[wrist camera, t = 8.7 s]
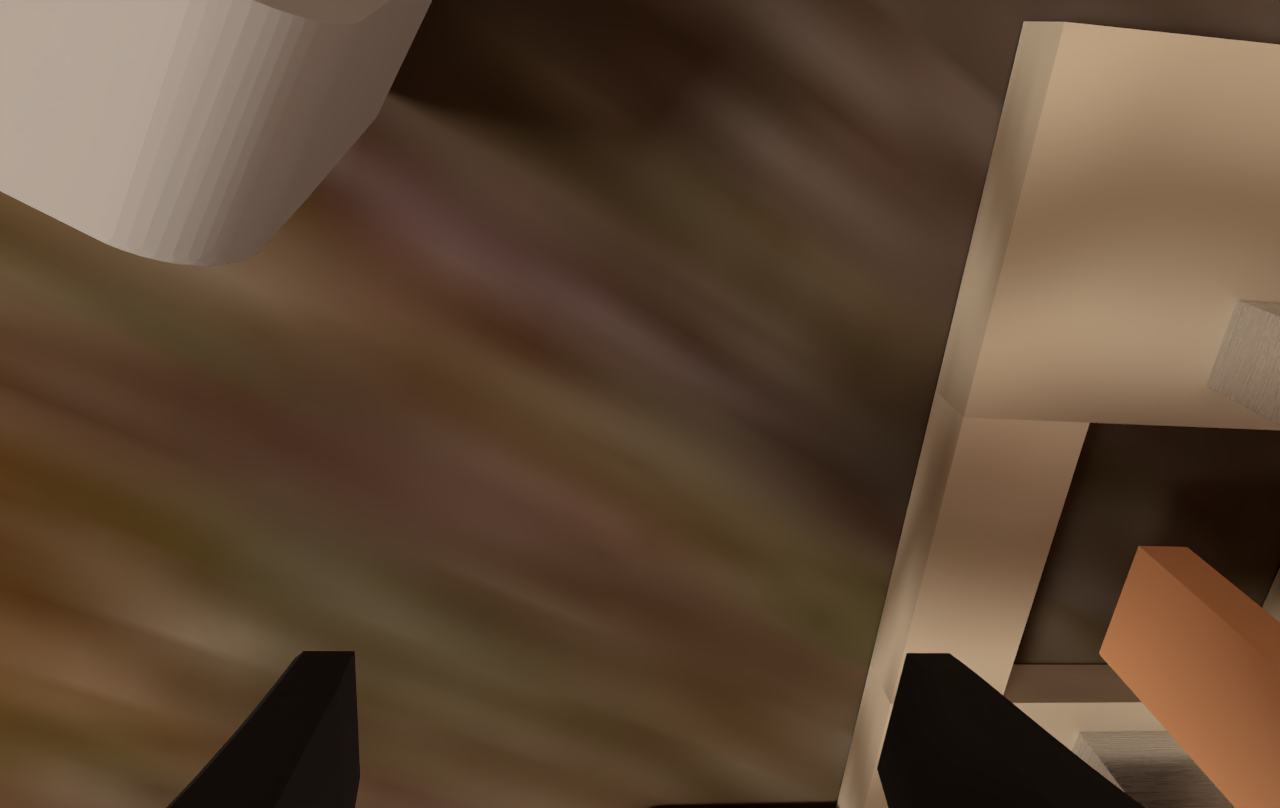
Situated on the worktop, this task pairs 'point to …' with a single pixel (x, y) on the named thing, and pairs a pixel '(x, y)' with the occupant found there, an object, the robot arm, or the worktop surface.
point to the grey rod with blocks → (1153, 760)
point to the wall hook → (189, 112)
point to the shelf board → (1077, 341)
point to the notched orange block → (1203, 668)
